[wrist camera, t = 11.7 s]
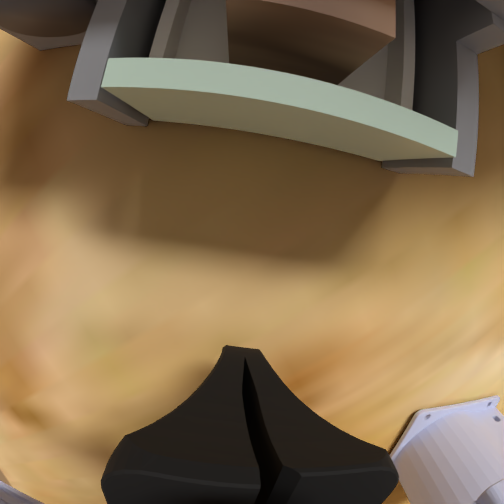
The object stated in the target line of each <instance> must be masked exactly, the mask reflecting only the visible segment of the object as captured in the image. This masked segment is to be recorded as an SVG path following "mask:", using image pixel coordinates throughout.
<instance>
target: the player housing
mask: <svg viewBox="0 0 504 504" xmlns="http://www.w3.org/2000/svg"><path fill="white" fill-rule="evenodd" d="M165 3H166V0H0V29H1V30H3V31H5V32H7V33H9V34H11V35H13V36H15V37H17V38H18V39H20V40H22V41H24V42H26V43H28V44H29V45H31V46H33V47H35V48H37V49H38V50H46V49H52V48H58V47H65V46H73V45H81V44H82V46H81V49H80V52H79V55H78V59H77V62H76V65H75V69H74V73H73V76H72V80H71V84H70V88H69V92H68V97H67V101H69V102H72V103H74V104H77V105H79V106H82V107H84V108H87V109H89V110H91V111H94V112H96V113H99V114H101V115H103V116H106V117H108V118H110V119H113V120H115V121H117V122H120V123H122V124H124V125H134V126H148V120H149V117H147V116H146V115H144V114H143V113H141V112H139V111H138V110H136V109H135V108H133V107H132V106H130V105H129V104H127V103H125V102H124V101H122V100H121V99H119V98H118V97H116V96H114V95H113V94H111V93H110V92H108V91H106V90H105V89H103V88H102V87H101V85H102V81H103V77H104V73H105V69H106V65H107V62H108V58H149V54H150V51H151V47H152V44H153V40H154V37H155V33H156V30H157V27H158V24H159V21H160V18H161V14H162V11H163V8H164V6H165ZM414 12H415V74H414V93H413V107H412V111H415V112H417V113H420V114H422V115H424V116H427V117H429V118H431V119H434V120H436V121H438V122H441V123H443V124H445V125H447V126H449V127H451V128H453V129H456V130H458V141H457V152H456V157H454V158H423V159H403V160H388V161H382V167H381V168H384V169H387V170H391V171H394V172H397V173H404V174H433V175H452V176H468V177H474V170H475V161H476V150H477V137H478V118H479V76H478V57H477V54H479V53H482V52H485V51H487V50H490V49H492V48H495V47H498V46H501V45H503V44H504V0H414Z"/></svg>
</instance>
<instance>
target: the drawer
mask: <svg viewBox="0 0 504 504" xmlns="http://www.w3.org/2000/svg"><path fill="white" fill-rule="evenodd" d="M414 74H415V12H414V0H396V37H395V39H394V40H392V41H391V42H390V43H389V44H387V45H386V46H385V47H383V48H382V49H381V50H380V51H378V52H377V53H376V54H375V55H373V56H372V57H371V58H370V59H368V60H367V61H366V62H365V63H363V64H362V65H361V66H360V67H359V68H357V69H356V70H355V71H354V72H352V73H351V74H350V75H349V76H348V77H347V78H345V79H344V80H343V81H342V82H341V83H339V84H338V85H335V84H331V83H327V82H323V81H320V80H315V79H311V78H307V77H303V76H298V75H294V74H289V73H284V72H279V71H274V70H269V69H263V68H257V67H251V66H244V65H237V64H230V63H229V51H228V32H227V13H226V0H166V3H165V6H164V8H163V11H162V14H161V18H160V21H159V24H158V27H157V30H156V33H155V37H154V40H153V44H152V47H151V51H150V54H149V58H108V62H107V65H106V69H105V73H104V77H103V81H102V85H101V87H102V88H103V89H105V90H106V91H108V92H110V93H111V94H113V95H114V96H116V97H118V98H119V99H121V100H122V101H124V102H125V103H127V104H129V105H130V106H132V107H133V108H135V109H136V110H138V111H139V112H141V113H143V114H144V115H146V116H147V117H149V118H150V119H152V120H153V121H165V122H176V123H186V124H195V125H204V126H212V127H220V128H227V129H234V130H240V131H247V132H253V133H259V134H264V135H270V136H275V137H281V138H286V139H291V140H296V141H301V142H305V143H310V144H314V145H319V146H323V147H327V148H332V149H336V150H340V151H344V152H348V153H352V154H355V155H359V156H363V157H367V158H370V159H374V160H377V161H388V160H403V159H423V158H454V157H456V152H457V141H458V130H456V129H453V128H451V127H449V126H447V125H445V124H443V123H441V122H438V121H436V120H434V119H431V118H429V117H427V116H424V115H422V114H420V113H417V112H415V111H412V107H413V93H414Z"/></svg>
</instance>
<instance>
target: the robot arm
mask: <svg viewBox="0 0 504 504" xmlns="http://www.w3.org/2000/svg"><path fill="white" fill-rule="evenodd" d="M499 400H500V397H499V396H498V395H496V396H492V397H488V398H483V399H479V400H474V401H469V402H464V403H459V404H453V405H448V406H442V407H435V408H428V409H422V410H419V411H417V412H416V413H415V414H414V416H413V418H412V420H411V421H410V423H409V425H408V426H407V428H406V430H405V431H404V433H403V435H402V436H401V438H400V440H399V441H398V443H397V444H396V446H395V448H394V449H393V451H392V452H391V454H390V455H389V454H388V452H387V451H386V449H383V448H380V447H378V446H375V445H372V444H370V443H367V442H365V441H362V440H360V439H358V438H356V437H354V436H352V435H350V434H348V433H346V432H344V431H342V430H340V429H338V428H337V427H335V426H333V425H332V424H330V423H329V422H327V421H326V420H324V419H323V418H321V417H320V416H319V415H317V414H316V413H315V412H313V411H312V410H311V409H310V408H308V407H307V406H306V405H305V404H304V403H303V402H301V401H300V400H299V399H298V398H297V397H296V396H295V395H294V394H293V393H292V392H291V391H290V390H289V388H288V387H287V386H286V385H285V384H284V383H283V382H282V380H281V379H280V378H279V376H278V375H277V374H276V373H275V371H274V370H273V369H272V367H271V366H270V364H269V363H268V361H267V360H266V358H265V357H264V355H263V354H262V353H261V351H260V350H259V349H251V348H243V347H235V346H228V345H226V346H224V347H223V349H222V353H221V356H220V358H219V360H218V362H217V363H216V365H215V367H214V368H213V370H212V371H211V373H210V374H209V376H208V377H207V378H206V379H205V381H204V382H203V383H202V384H201V386H200V387H199V388H198V389H197V390H196V391H195V392H194V393H193V394H192V395H191V396H190V397H189V398H188V399H187V400H186V401H184V402H183V403H182V404H181V405H179V406H178V407H177V408H176V409H174V410H173V411H172V412H170V413H169V414H167V415H166V416H164V417H162V418H161V419H159V420H157V421H156V422H154V423H152V424H150V425H148V426H146V427H144V428H142V429H140V430H137V431H135V432H133V433H131V434H128V435H125V436H124V438H123V439H122V440H121V442H120V443H119V444H118V446H117V447H116V449H115V450H114V452H113V454H112V455H111V457H110V459H109V461H108V463H107V465H106V468H105V471H104V473H103V476H102V479H101V488H102V491H103V493H104V496H105V499H106V501H107V504H382V503H383V501H384V500H385V499H386V498H387V497H388V496H389V495H390V493H391V492H392V491H393V490H394V488H395V487H396V485H397V483H398V480H399V481H400V483H401V485H402V487H403V489H404V491H405V493H406V495H407V497H408V499H409V502H410V504H504V416H503V415H502V414H501V413H500V412H499V411H498V409H497V408H496V406H497V404H498V402H499ZM0 504H44V503H42V502H40V501H38V500H36V499H34V498H32V497H30V496H28V495H26V494H24V493H22V492H20V491H18V490H16V489H15V488H13V487H11V486H9V485H7V484H6V483H4V482H2V481H1V480H0Z"/></svg>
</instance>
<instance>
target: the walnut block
mask: <svg viewBox="0 0 504 504" xmlns="http://www.w3.org/2000/svg"><path fill="white" fill-rule="evenodd" d="M226 13H227V32H228V51H229V63H230V64H237V65H244V66H251V67H257V68H263V69H269V70H274V71H279V72H284V73H289V74H294V75H298V76H303V77H307V78H311V79H315V80H320V81H323V82H327V83H331V84H335V85H338V84H339V83H341V82H342V81H343V80H344V79H345V78H347V77H348V76H349V75H350V74H351V73H352V72H354V71H355V70H356V69H357V68H359V67H360V66H361V65H362V64H363V63H365V62H366V61H367V60H368V59H370V58H371V57H372V56H373V55H375V54H376V53H377V52H378V51H380V50H381V49H382V48H383V47H385V46H386V45H387V44H389V43H390V42H391V41H392V40H394V39H395V37H396V0H226Z"/></svg>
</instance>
